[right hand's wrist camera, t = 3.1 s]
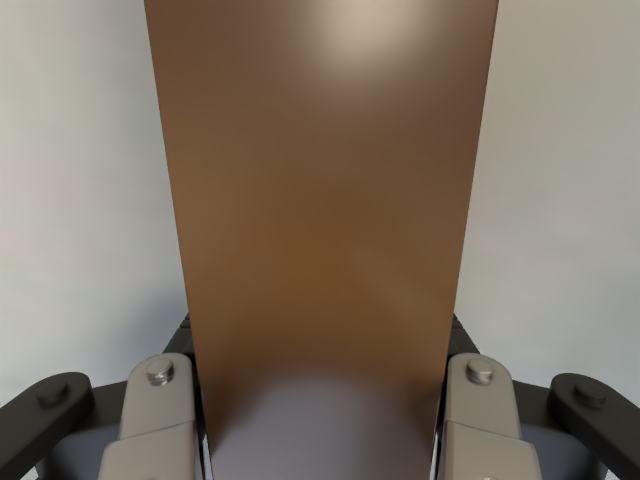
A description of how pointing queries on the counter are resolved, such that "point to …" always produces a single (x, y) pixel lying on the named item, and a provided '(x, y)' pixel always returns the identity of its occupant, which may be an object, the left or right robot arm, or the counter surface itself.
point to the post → (321, 220)
